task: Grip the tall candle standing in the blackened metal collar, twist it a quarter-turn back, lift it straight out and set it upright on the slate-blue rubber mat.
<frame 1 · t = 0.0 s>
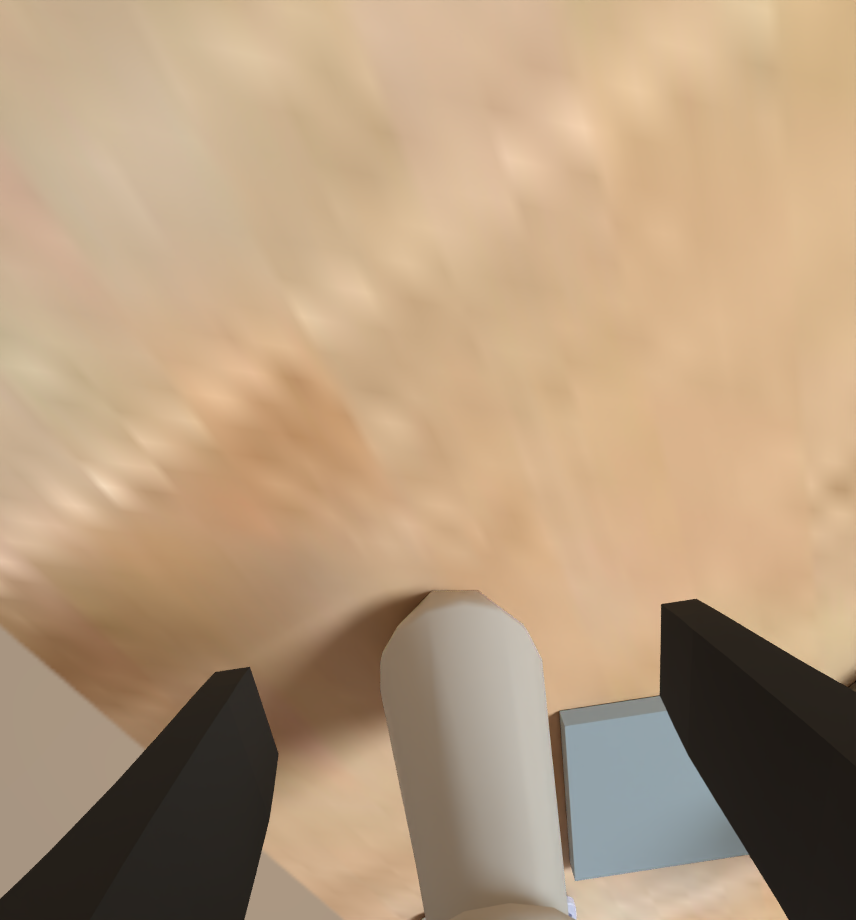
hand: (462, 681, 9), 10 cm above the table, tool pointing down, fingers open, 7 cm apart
salt shaker: (453, 627, 21), on the table
mat: (671, 776, 25), on the table
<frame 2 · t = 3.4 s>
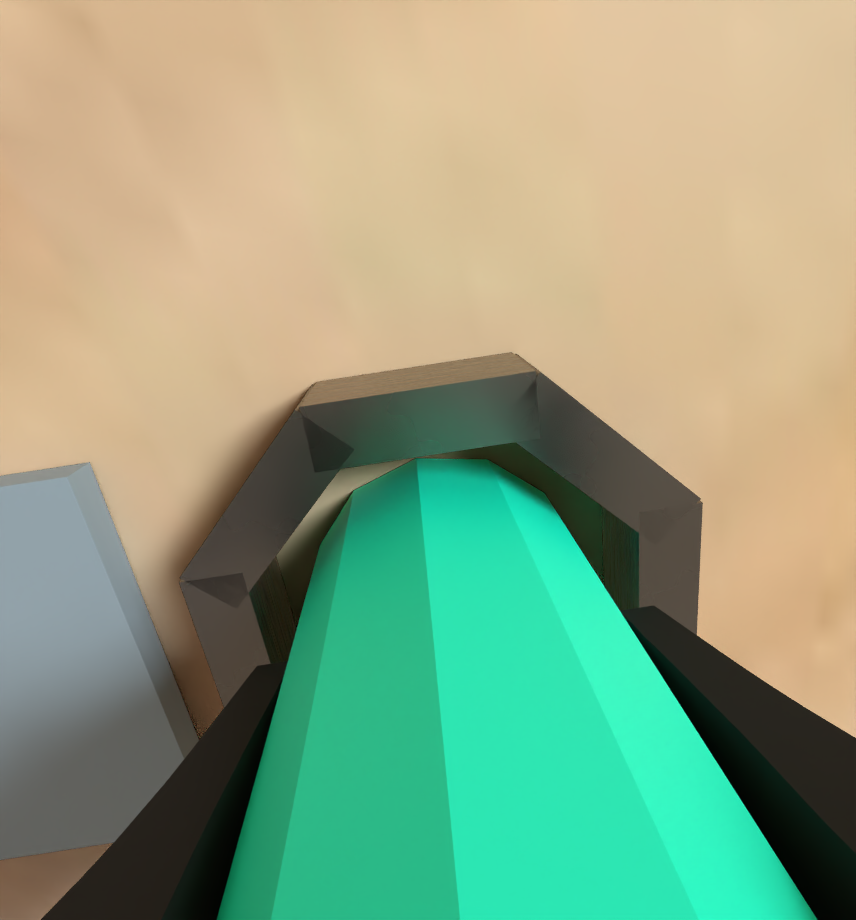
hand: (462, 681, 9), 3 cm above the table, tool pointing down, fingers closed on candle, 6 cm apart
collar: (445, 574, 12), on the table
candle: (444, 569, 13), resting in collar, touching gripper
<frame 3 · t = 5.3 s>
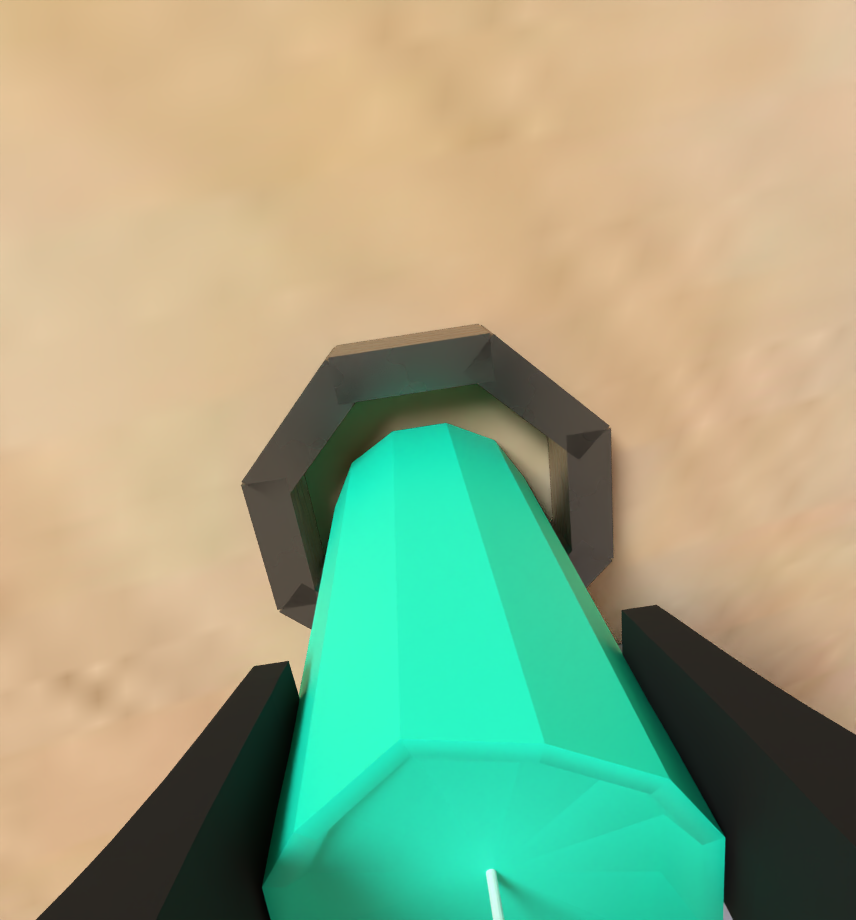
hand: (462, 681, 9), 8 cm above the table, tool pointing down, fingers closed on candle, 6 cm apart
collar: (431, 493, 17), on the table
candle: (432, 511, 17), resting in collar, touching gripper
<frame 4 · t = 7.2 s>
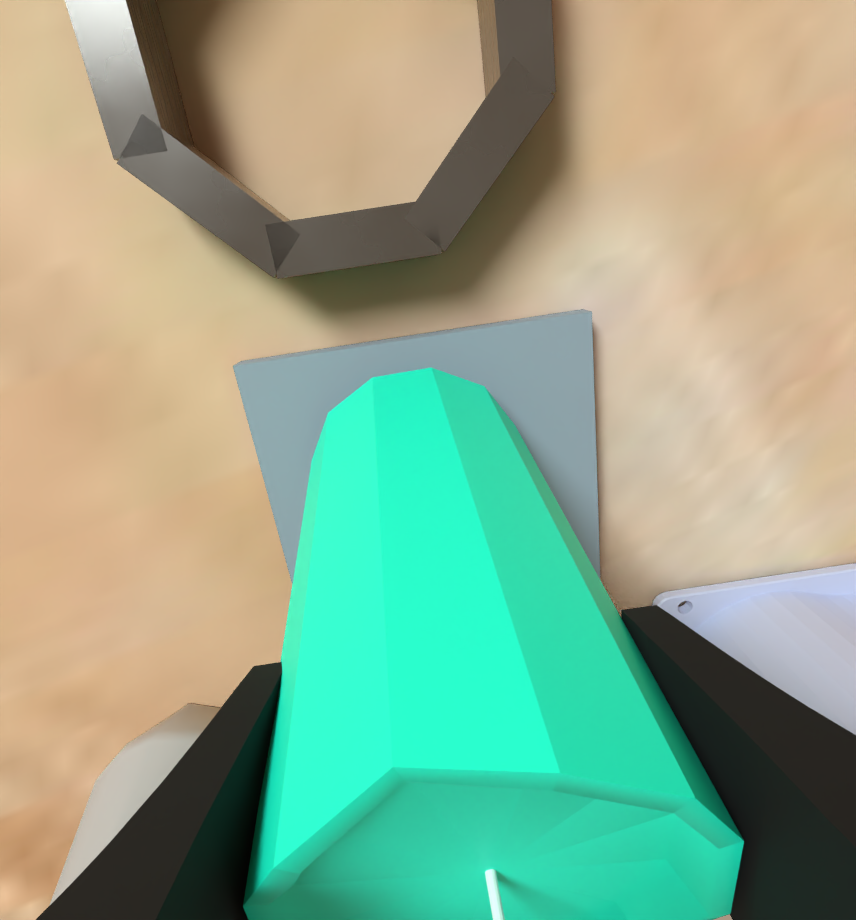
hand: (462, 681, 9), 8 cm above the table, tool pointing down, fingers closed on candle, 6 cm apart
collar: (327, 51, 13), on the table
salt shaker: (210, 739, 20), on the table
candle: (417, 462, 15), point 1 cm above the table, touching gripper, mat
mat: (435, 491, 17), on the table
when the fingers open (6 cm above the table, at t = 8.3 s): candle stays where it is, resting on mat.
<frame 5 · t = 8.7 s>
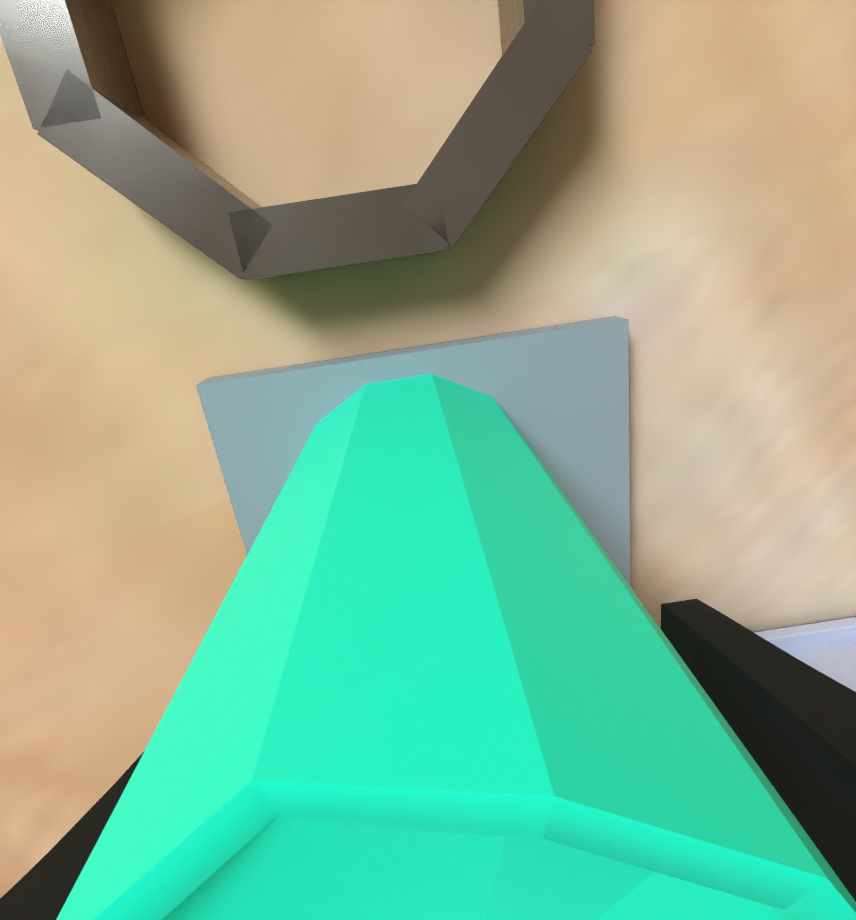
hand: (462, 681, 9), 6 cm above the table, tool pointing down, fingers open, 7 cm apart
candle: (417, 488, 14), point 1 cm above the table, touching mat
mat: (438, 528, 15), on the table
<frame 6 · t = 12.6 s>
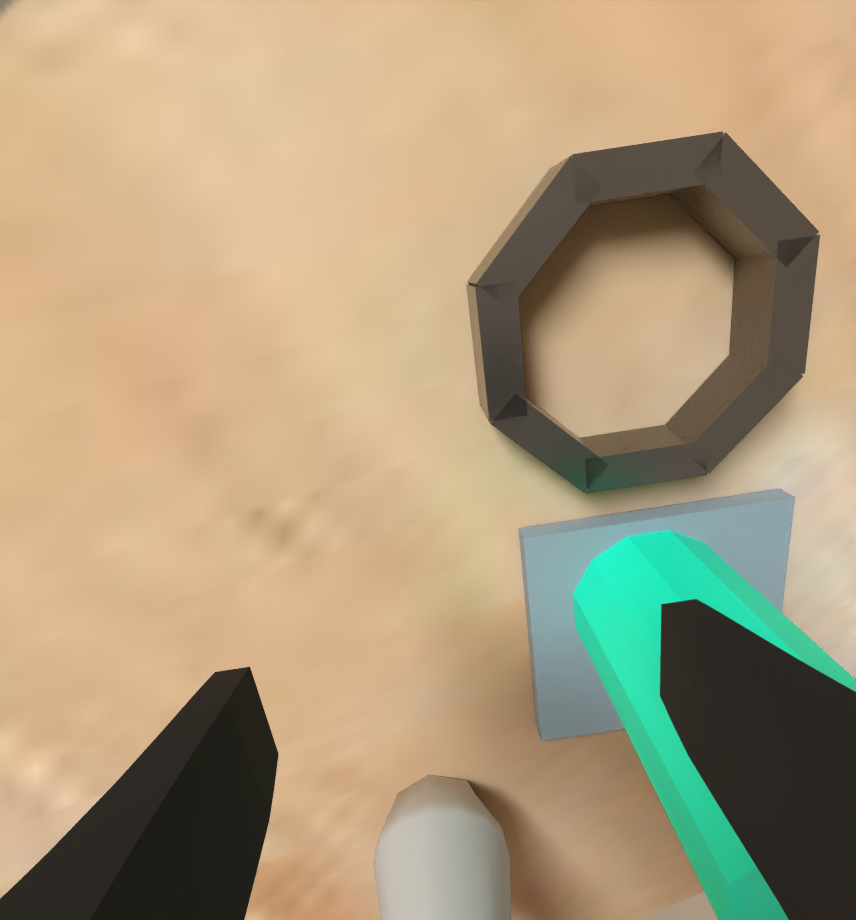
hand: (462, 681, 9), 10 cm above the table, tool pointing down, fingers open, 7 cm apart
collar: (620, 324, 18), on the table
salt shaker: (437, 801, 25), on the table
candle: (645, 595, 21), point 1 cm above the table, touching mat
mat: (648, 617, 22), on the table
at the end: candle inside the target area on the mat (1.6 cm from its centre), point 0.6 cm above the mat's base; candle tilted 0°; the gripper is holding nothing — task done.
